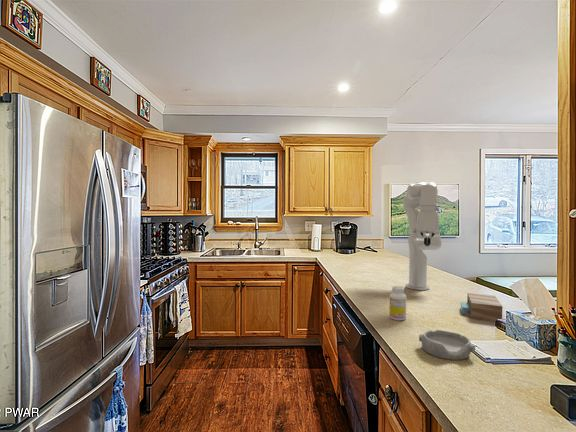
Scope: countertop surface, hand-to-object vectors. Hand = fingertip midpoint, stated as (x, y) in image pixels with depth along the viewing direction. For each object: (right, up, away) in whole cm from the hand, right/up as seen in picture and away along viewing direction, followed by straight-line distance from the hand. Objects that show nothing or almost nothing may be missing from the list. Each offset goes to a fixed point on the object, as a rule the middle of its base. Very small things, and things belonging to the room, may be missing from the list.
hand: (427, 246), depth 162 cm
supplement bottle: (-24, -28, -27) cm, 46 cm away
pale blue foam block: (+14, -28, -19) cm, 36 cm away
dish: (-19, -29, -58) cm, 67 cm away
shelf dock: (+16, -28, -20) cm, 38 cm away
